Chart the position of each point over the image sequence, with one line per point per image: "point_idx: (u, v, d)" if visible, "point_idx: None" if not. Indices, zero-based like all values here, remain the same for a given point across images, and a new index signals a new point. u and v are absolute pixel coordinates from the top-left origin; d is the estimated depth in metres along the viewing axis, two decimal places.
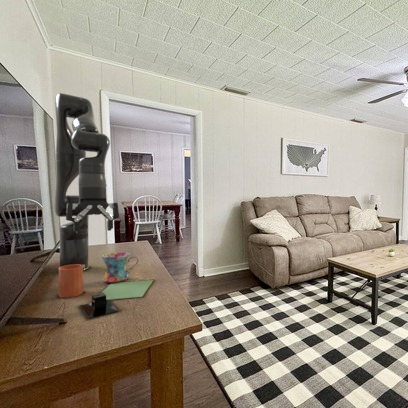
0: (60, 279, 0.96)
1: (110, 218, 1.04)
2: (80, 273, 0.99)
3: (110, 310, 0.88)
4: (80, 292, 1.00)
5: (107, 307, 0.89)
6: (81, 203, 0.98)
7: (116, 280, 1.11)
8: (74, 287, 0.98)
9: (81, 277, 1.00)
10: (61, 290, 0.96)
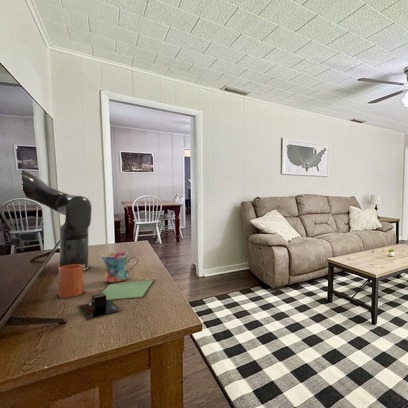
0: (60, 279, 0.96)
1: None
2: (80, 273, 0.99)
3: (110, 310, 0.88)
4: (80, 292, 1.00)
5: (107, 307, 0.89)
6: None
7: (116, 280, 1.11)
8: (74, 287, 0.98)
9: (81, 277, 1.00)
10: (61, 290, 0.96)
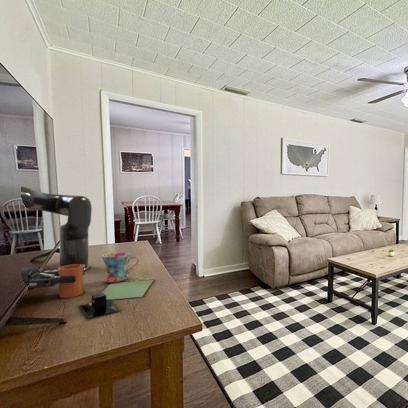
0: None
1: None
2: (80, 273, 0.99)
3: (110, 310, 0.88)
4: (80, 292, 1.00)
5: (107, 307, 0.89)
6: None
7: (116, 280, 1.11)
8: (74, 287, 0.98)
9: (81, 277, 1.00)
10: (61, 290, 0.96)
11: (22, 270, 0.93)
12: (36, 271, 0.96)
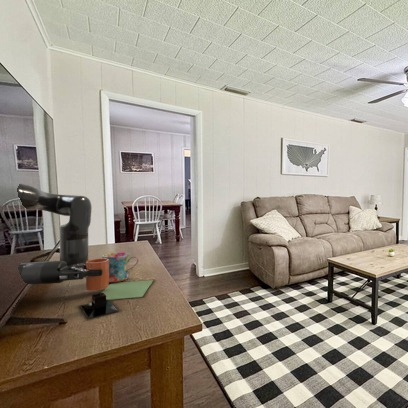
0: None
1: None
2: (107, 267, 1.02)
3: (110, 310, 0.88)
4: (106, 285, 1.02)
5: (107, 307, 0.89)
6: None
7: (116, 280, 1.11)
8: (101, 280, 1.00)
9: (107, 271, 1.02)
10: (89, 283, 0.99)
11: (52, 263, 0.95)
12: (64, 264, 0.99)
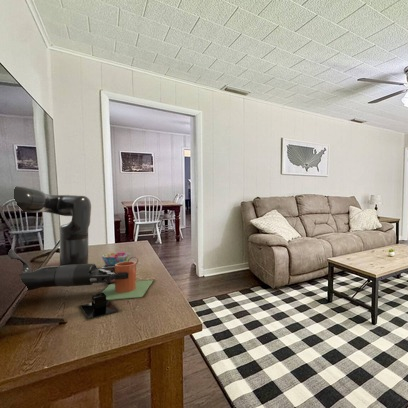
0: None
1: None
2: (134, 270, 1.05)
3: (110, 310, 0.88)
4: (134, 288, 1.05)
5: (107, 307, 0.89)
6: None
7: None
8: (129, 283, 1.03)
9: (135, 273, 1.06)
10: (118, 286, 1.02)
11: (83, 266, 0.99)
12: (94, 267, 1.02)
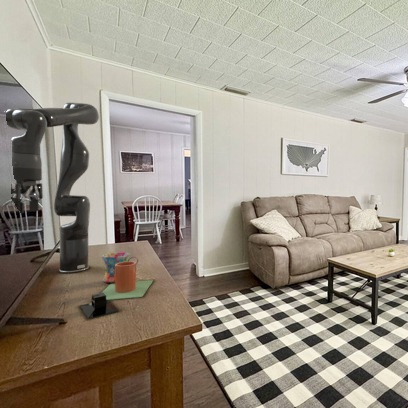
0: (117, 275, 1.02)
1: None
2: (134, 270, 1.05)
3: (110, 310, 0.88)
4: (134, 288, 1.05)
5: (107, 307, 0.89)
6: None
7: None
8: (129, 283, 1.03)
9: (135, 273, 1.06)
10: (118, 286, 1.02)
11: (36, 174, 1.00)
12: None
